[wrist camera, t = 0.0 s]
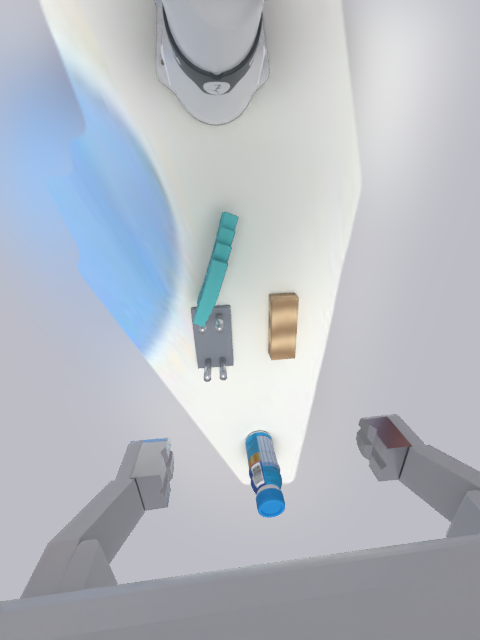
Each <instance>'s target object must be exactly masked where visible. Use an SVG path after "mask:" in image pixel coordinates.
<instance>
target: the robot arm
mask: <svg viewBox="0 0 480 640" xmlns="http://www.w3.org/2000/svg"><path fill="white" fill-rule="evenodd" d="M264 1H265V0H155V4H156V5H157V47H156V72H157V76H158V78H159V80H160V81H161V82H162V83H163V84H164V85H165V86H167V87H168V88H169V89H171V90H172V91H173V92H174V93H175V94H176V96H177V97H178V99H179V101H180V102H181V104H182V105H183V106H184V108H185V109H186V110H187V111H188V112H189V113H190V114H191V115H192V116H194V117H195V118H196V119H198V120H200V121H202V122H204V123H208V124H214V125H219V124H225V123H228V122H230V121H232V120H234V119H235V118H237V117H238V116H239V115H240V114H241V113H242V112H243V111H244V110H245V108H246V107H247V105H248V104H249V102H250V100H251V98H252V96H253V94H254V92H255V91H256V90H257V89H258V88H259V87H260V86H261V85H263V84H264V83H265V81H266V80H267V78H268V76H269V64H268V57H267V50H266V43H265V36H264V28H263V21H262V10H263V5H264ZM162 62H164V65H162ZM359 426H360V427H361V429H360V430H359V431H358V432H357V437H356V440H357V444H358V447H359V450H360V452H361V454H362V455H363V456H364V457H365V458H367V459H368V460H369V467H370V468H371V470H372V472H373V473H374V475H375V476H376V478H377V479H378V481H388V480H399V481H400V482H401V483H403V484H404V485H405V486H407V487H408V488H409V489H410V490H411V491H413V492H414V493H415V494H416V495H418V496H419V497H420V498H421V499H423V500H424V501H425V502H426V503H428V504H429V505H430V506H431V507H433V508H434V509H435V510H436V511H438V512H439V513H440V514H441V515H443V516H444V517H445V518H446V519H448V520H449V521H450V522H451V525H450V527H449V529H448V531H447V535H446V537H447V538H444V539H436V540H429V541H422V542H415V543H409V544H401V545H394V546H387V547H380V548H373V549H366V550H359V551H352V552H344V553H337V554H331V555H323V556H316V557H309V558H303V559H295V560H288V561H281V562H274V563H267V564H260V565H253V566H246V567H239V568H232V569H225V570H219V571H211V572H204V573H197V574H190V575H184V576H176V577H170V578H162V579H155V580H148V581H141V582H134V583H127V584H120V585H117V582H116V579H115V577H114V574H113V572H112V570H111V568H110V566H109V564H110V562H111V561H112V559H113V558H114V557H115V555H116V554H117V552H118V551H119V549H120V548H121V546H122V545H123V543H124V542H125V540H126V539H127V537H128V536H129V535H130V533H131V532H132V530H133V529H134V527H135V526H136V524H137V523H138V521H139V520H140V518H141V517H142V516H143V514H144V512H145V510H152V509H159V508H165V507H168V502H169V496H170V490H171V489H170V484H169V481H170V480H171V479H172V477H173V470H174V458H173V452H172V451H170V447H171V443H170V439H169V438H164V439H152V440H142V441H141V440H140V441H131V442H130V444H129V445H128V447H127V450H126V453H125V456H124V458H123V461H122V463H121V466H120V469H119V471H118V474H117V477H116V479H115V481H111V482H110V483H109V484H108V485H107V486H105V488H104V489H102V490H101V492H99V493H98V494H97V495H96V496H95V497H94V499H92V500H91V502H89V503H88V504H87V505H86V506H85V507H84V508H83V509H82V510H81V511H80V512H79V513H78V514H77V516H75V517H74V518H73V519H72V520H71V521H70V522H69V523H68V524H67V525H66V526H65V527H64V528H63V529H62V530H61V531H60V532H59V533H58V534H57V535H56V536H55V537H54V538H53V539H52V540H51V541H50V542H49V543H48V545H47V546H46V548H45V550H44V553H43V554H42V556H41V558H40V560H39V562H38V564H37V566H36V568H35V570H34V572H33V574H32V576H31V578H30V580H29V582H28V584H27V586H26V588H25V590H24V592H23V594H22V595H21V597H20V599H15V600H7V601H0V640H480V472H479V471H477V470H475V469H474V468H472V467H470V466H468V465H466V464H464V463H462V462H461V461H459V460H457V459H455V458H453V457H451V456H449V455H447V454H446V453H444V452H442V451H440V450H438V449H436V448H434V447H432V446H431V445H425V444H424V443H423V442H422V440H420V438H419V437H418V436H417V435H416V434H415V433H414V432H413V431H412V430H411V429H410V427H409V426H408V425H407V424H406V423H405V422H404V421H403V420H402V419H401V418H400V417H399V416H398V415H396V414H393V415H384V416H383V415H382V416H374V417H365V418H361V419H360V421H359Z"/></svg>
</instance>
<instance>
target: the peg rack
mask: <svg viewBox="0 0 480 640" xmlns="http://www.w3.org/2000/svg"><path fill="white" fill-rule="evenodd" d="M196 309H197V307H194V308H191V313H192V322H193V321H194V316H195V312H196ZM193 330H194V338H195V346H196V354H197V362H198V368H204V381H206V382H209V381H210V380H211V367H220V379H221V380H226V379H227V372H226V366H233V350H232V332H231V315H230V305H224V306H213V309H212V313H211V314H210V315H209V318H208V321H206V324H205V327H204V326H200V325H197V324H193Z"/></svg>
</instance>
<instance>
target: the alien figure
mask: <svg viewBox="0 0 480 640" xmlns="http://www.w3.org/2000/svg"><path fill="white" fill-rule="evenodd" d="M237 220H238V217H237V216H235V215H232V214H229V213H227V212H224V213H222V217H221V220H220V225H219V228H218V232H217V237H216V240H215V244H214V248H213V252H212V255H211V259H210V262H209V266H208V269H207V273H206V276H205V278H204V282H203V285H202V288H201V291H200V294H199V297H198V301H197V304H198V305H197V309H196V312H195V316H194V321H193V324H197V325H200V326H204V327H205V324H206V321H208V318H209V315H210V314H211V313H212V309H213V306H215V304H216V301H217V298H218V295H219V292H220V289H221V285H222V282H223V279H224V276H225V273H226V270H227V266H228V263H227V261H228V258H229V255H230V252H231V249H232V247H231V244H232V241H233V238H234V234H235V231H234V230H235V227H236V224H237Z"/></svg>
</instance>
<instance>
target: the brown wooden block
mask: <svg viewBox="0 0 480 640" xmlns="http://www.w3.org/2000/svg"><path fill="white" fill-rule="evenodd" d="M298 301H299V297H298V296H297V295H296V294H295V293H284V294H269V350H268V353H269V355H270V358H271V360H279V359H291V358H295V350H296V333H297V317H298Z"/></svg>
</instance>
